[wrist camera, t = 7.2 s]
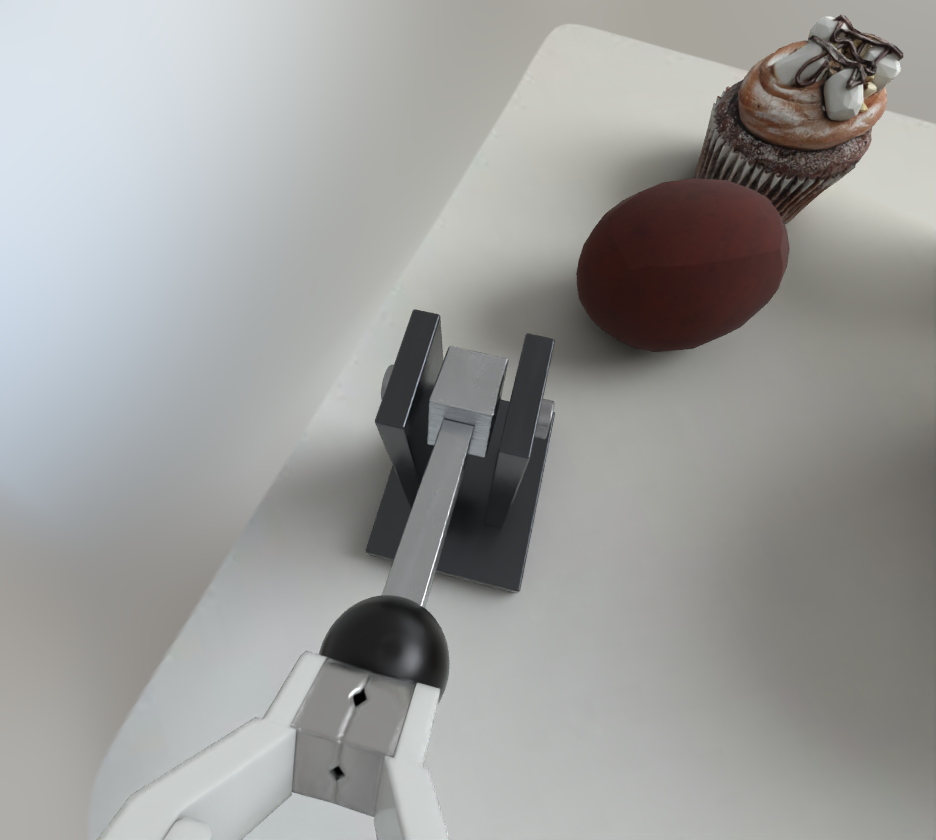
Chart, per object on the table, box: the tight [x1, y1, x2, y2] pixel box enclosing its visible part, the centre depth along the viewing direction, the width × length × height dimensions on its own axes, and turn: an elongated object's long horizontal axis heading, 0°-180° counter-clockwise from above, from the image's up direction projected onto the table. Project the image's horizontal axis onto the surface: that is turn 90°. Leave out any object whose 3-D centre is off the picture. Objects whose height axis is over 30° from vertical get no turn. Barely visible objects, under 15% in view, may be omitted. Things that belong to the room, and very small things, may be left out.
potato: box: [576, 178, 789, 352], centre depth 29 cm, size 9×12×9 cm
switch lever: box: [319, 346, 508, 705], centre depth 15 cm, size 12×3×3 cm, turn 166°
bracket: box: [366, 310, 555, 593], centre depth 22 cm, size 10×8×13 cm
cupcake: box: [694, 15, 903, 223], centre depth 33 cm, size 10×10×10 cm
